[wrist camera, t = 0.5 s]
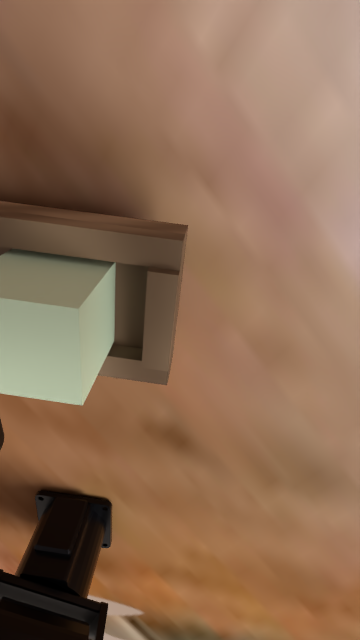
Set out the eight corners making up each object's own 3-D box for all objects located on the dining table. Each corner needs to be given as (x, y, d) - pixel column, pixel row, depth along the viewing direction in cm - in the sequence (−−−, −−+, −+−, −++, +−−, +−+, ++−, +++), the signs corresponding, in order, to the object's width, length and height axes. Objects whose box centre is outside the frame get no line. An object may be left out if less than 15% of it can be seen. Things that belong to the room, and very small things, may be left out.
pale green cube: (115, 261, 15) (78, 308, 11) (114, 340, 17) (82, 405, 13) (14, 247, 15) (-60, 289, 11) (24, 327, 17) (-35, 388, 13)
